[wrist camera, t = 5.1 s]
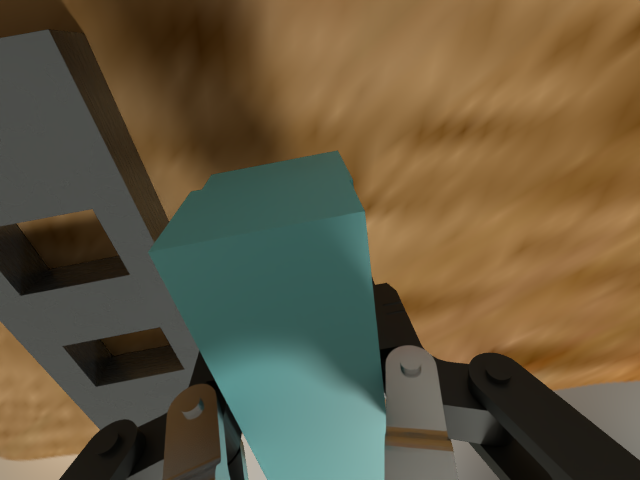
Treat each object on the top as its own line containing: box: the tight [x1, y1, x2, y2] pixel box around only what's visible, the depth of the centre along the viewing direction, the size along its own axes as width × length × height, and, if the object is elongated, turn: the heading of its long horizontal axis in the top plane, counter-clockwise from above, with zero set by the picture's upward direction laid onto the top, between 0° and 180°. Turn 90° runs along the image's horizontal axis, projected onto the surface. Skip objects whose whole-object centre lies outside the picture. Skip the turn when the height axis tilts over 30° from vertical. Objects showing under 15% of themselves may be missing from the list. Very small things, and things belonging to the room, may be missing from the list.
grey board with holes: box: [0, 29, 199, 430], centre depth 20 cm, size 10×26×2 cm, turn 9°
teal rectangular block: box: [148, 151, 386, 480], centre depth 11 cm, size 4×11×6 cm, turn 10°
